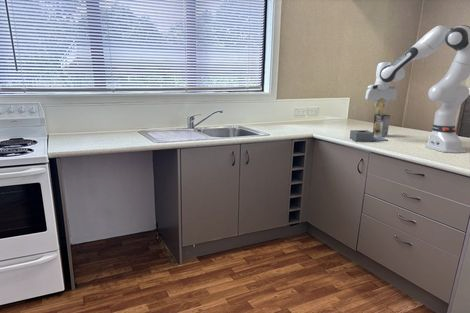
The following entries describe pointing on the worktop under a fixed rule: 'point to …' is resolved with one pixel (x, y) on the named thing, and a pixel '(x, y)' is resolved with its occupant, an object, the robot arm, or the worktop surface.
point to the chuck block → (361, 135)
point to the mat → (379, 139)
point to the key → (379, 107)
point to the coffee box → (381, 125)
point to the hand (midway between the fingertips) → (379, 106)
